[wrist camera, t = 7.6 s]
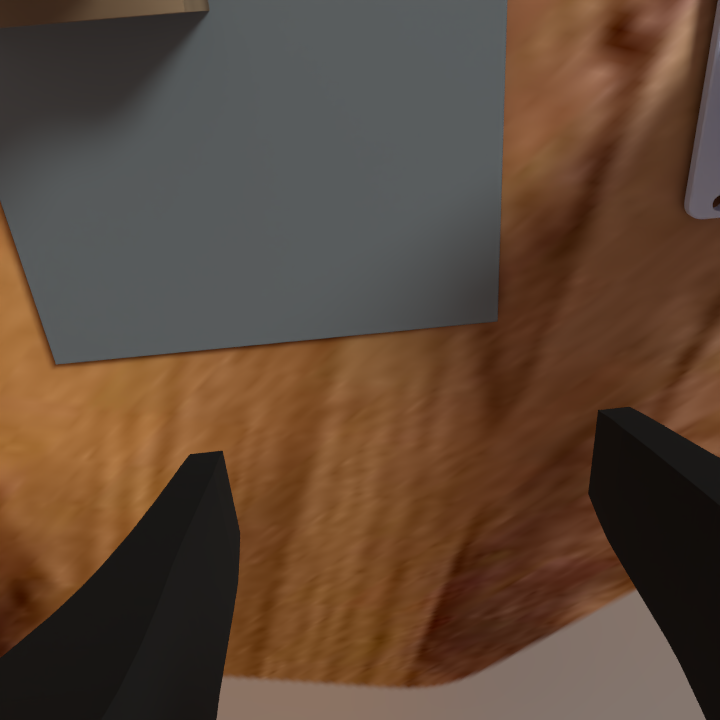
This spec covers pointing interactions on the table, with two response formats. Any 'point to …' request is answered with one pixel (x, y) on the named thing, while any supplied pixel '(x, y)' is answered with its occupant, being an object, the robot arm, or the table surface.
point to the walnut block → (88, 10)
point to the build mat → (255, 172)
